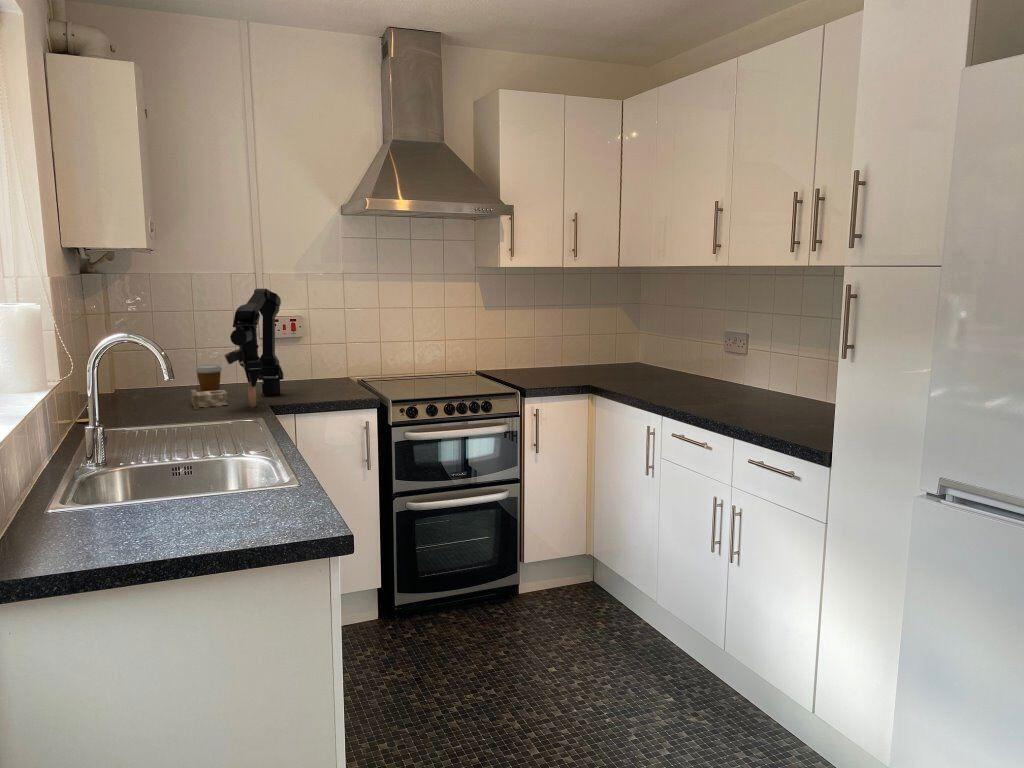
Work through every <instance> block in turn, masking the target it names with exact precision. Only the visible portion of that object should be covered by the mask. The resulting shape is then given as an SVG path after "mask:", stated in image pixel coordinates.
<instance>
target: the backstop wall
mask: <svg viewBox="0 0 1024 768" xmlns="http://www.w3.org/2000/svg"><path fill="white" fill-rule="evenodd" d="M197 392H198V391H197V390H196V389H190V393H191V397H190V398H191V404H192V407H193V406H194V407H193V408H194V410H195V409H197V410H200V408H199V400H198V394H197Z"/></svg>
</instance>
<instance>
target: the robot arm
mask: <svg viewBox="0 0 1024 768" xmlns="http://www.w3.org/2000/svg"><path fill="white" fill-rule="evenodd" d="M281 304H282V301H281V297H280V296H279V294H277V293H275V292H273V291H270V290H269V289H268V288H254V291H253V294H252V295H251V297H250V298H249V300H248V301H247V302H246V303H245V304H241V305H240V306H238V307H237V309H236V310H235V312H234V316H233V322H232V323H233V324H232V328H235V329H234V330H233V331H232V332H231V334H230V337H229V338H230V341H231V343H232V344H233V345H235V346H238V347H239V348H238V349H236V350H232V351H230V352H228V353H226V354H224V358H225V360H226V362H227V364H228V365H232V364H233V363H235V362H238V364H239V366H240V367H242V368H243V369H244V373H245V376H246V380H247V383H249V384H250V385H252V387H255V388H256V386H257V385H256V384H257V382H258V381H261V383H260V389H261V390H260V391H261V395H263V396H264V397H272V396H282V392H281V381H282V380H284V371H283V369H282V366H281V365H280V360H279V358H278V357H277V355H276V317H277V315H278V313H279V312H280V307H281ZM261 316H262V354H261V355H260V356H259V351H258V350H259V344H258V334H257V333H258V331H257V329H258V325H259V322H260V318H261Z"/></svg>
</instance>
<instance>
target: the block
mask: <svg viewBox="0 0 1024 768" xmlns="http://www.w3.org/2000/svg"><path fill="white" fill-rule="evenodd" d="M196 392H197V394H198V400H199V407H204V408H211V407H210V406H216V407H223V406H222V405H229V403H228V402H229V401H228V393H227V391H226V390H225V389H220V390H216V391H203V392H201V391H196Z"/></svg>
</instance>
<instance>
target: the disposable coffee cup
mask: <svg viewBox="0 0 1024 768" xmlns="http://www.w3.org/2000/svg"><path fill="white" fill-rule="evenodd" d="M195 372H196V375H197V379H198V385H199V389H200V392H203V391H216V390H221V389H220V387H221V373H222V367H221V365H219V364H202V365H197V366H196V368H195Z"/></svg>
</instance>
